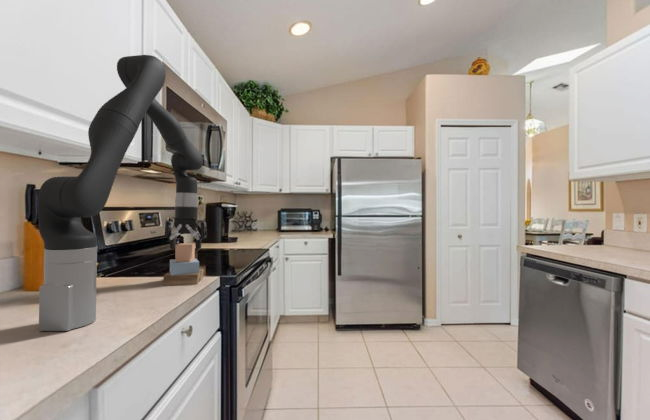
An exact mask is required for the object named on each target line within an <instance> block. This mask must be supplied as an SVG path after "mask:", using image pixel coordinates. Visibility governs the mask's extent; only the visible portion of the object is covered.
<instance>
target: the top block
mask: <svg viewBox="0 0 650 420" xmlns="http://www.w3.org/2000/svg"><path fill="white" fill-rule="evenodd" d="M199 269H200V261H199V260H198V259H197V258H196V257H195V260H193V261H190V262H175V259H169V272H170V274H171V275H182V274H195V273H199Z"/></svg>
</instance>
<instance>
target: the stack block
mask: <svg viewBox="0 0 650 420" xmlns="http://www.w3.org/2000/svg"><path fill="white" fill-rule="evenodd" d="M195 248H196V242H195V243H187V242H186V243H178V244H177V243H176V245H175V250H174V251H175V254H174V255H175V256H174V258H175V259H174V260H175V262H190V261H193V260H195V258H196V257H195V253H196V250H195Z"/></svg>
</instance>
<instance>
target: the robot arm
mask: <svg viewBox="0 0 650 420" xmlns="http://www.w3.org/2000/svg"><path fill="white" fill-rule="evenodd" d="M116 71H117V74H118V77H119V79H120V81H121V83H122V84H123V86H124V87H125V88H124V89H123V90H121V91H120V92H119V93H117V94H116V95H114V96H113V97H111V98H110V99H108V100H107V101H105V102H104V104H103V105H102V106H100V108H99V109H98V111H97V112H96V114H95V115H94V117H93V118H92V120H91V122H90V124H89V126H88V130H87V131H88V132H87V134H88V135H87V136H88V140H89V146H90V155H89V158H88V161H87V162H86V164H85V166H84V168H83V169H82V171H81V172H80V173H79V174H78V175H77V176H54V177H50V178H48V179H47V180H45V181H44V182H43V183H42V184H41V186H40V188H39V191H38V197H37V214H38V215H37V217H38V230H39V235H40V237H41V239H42V241H43V244H44V245H43V284H42V285H40V286H39V290H38V292H39V293H38V294H39V295H38V296H39V298H38V300H39V301H38V302H39V303H38V304H39V305H38V306H39V307H38V331H39V332H45V331H46V332H69V331H70V330H74V329H78V328H81V327H85V326H87V325H90V324H92V323H94V322H95V321H96V320H97V318H96V317H97V276H98V275H97V274H98V273H97V271H98V270H97V268H98V262H97V261H98V237H97V235H96V233H94V232H92V231H90V230H88V229H87V228H86V227H85V226H84V225H83V223H82V218H91V217H94V216H96V215H98V214H100V213H101V212H102V210H103V209H104V208H105V206H106V204H107V202H108V199H109V196H110V194H111V192H112V188H113V185H114V182H115V179H116V177H117V174H118V171H119V169H120V166H121V164H122V162H123V159H124V157H125V155H126V154H127V151H128V149H129V147H130V145H131V144H132V142H133V140H134V138H135V136H136V134H137V131H138V130H139V127H140V125H141V122H142V121H143V119H144V117H145V115H147V116H148V117H149V119H150V120H151V121H152V123H153V124H154V126H155V128H156V129H157V130H158V132H159V134H160V135H161V137H162V139H163V142H164V143H165V144H166V146H167V147H168V149H170V150H172V151H174V153H173V154H172V156H171V159H170V161H171V167H172V172H173V174H174V179H175V184H176V185H175V189H176V190H175V199H174V221H166V222H165V227H164V228H165V229H164V239H168V240H169V248H170V249H171V251H175V245H177V237H179V235H181V234H187V235H189V234H191V235H192V237H194V238H195V239H196V240H195V252H196V251H197V252H198V251H200V249H202V240H204V239H206V238H207V237H208V232H207V231H208V229H207V227H208V226H207V222H206V221H202V222H201V221H200V222H199V220H198V215H199V214H198V213H199V210H198V207H199V199H198V180H197V178H195V177H193V176H189V175H188V172H187V171H198V170H200V169H201V168H202V166H203V165H204V159H203V155H202V154H201V152H200V151H199V150H198V148H197V147H196V146H195V145H194V144H193V143H192V142H191V140H190V139H189V138H188V137H187V134H186V133H185V131H184V128H183V127H182V125H181V123H180V122H179V121H178V118H176V117H175V116H174V115H173V114H172V113H171V112H169V110H167V108H165V107H164V106H162V104H161V103H160V102H158V101H157V99H156V97H157V96H158V94H159V93H160V92H161V90H162V88H163V87H164V85H165V82H166V78H167V77H166V75H167V74H166V68H165V65H164V63H163V62H162V60H160V59H159V58H158V57H156V56H154V55H149V54H139V55H138V54H137V55H128V56H123V57H120V58H119V59H118V61H117V63H116ZM173 227H175V229H174V230H173V232H172V228H173ZM198 227H199V229H200V232H199V230H198V229H197V228H198Z"/></svg>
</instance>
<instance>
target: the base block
mask: <svg viewBox="0 0 650 420" xmlns="http://www.w3.org/2000/svg"><path fill="white" fill-rule="evenodd" d="M204 272H205V270H204V268H199V273H195V274H182V275H171V274H170V271H168V272H166V273H164V274H163V278H162V279H163V281H162V282H163V286H180V284H189V285H198V284H199V283H200V282H201V281H202V280H203V279H204V275H205V274H204ZM178 284H179V285H178Z"/></svg>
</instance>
